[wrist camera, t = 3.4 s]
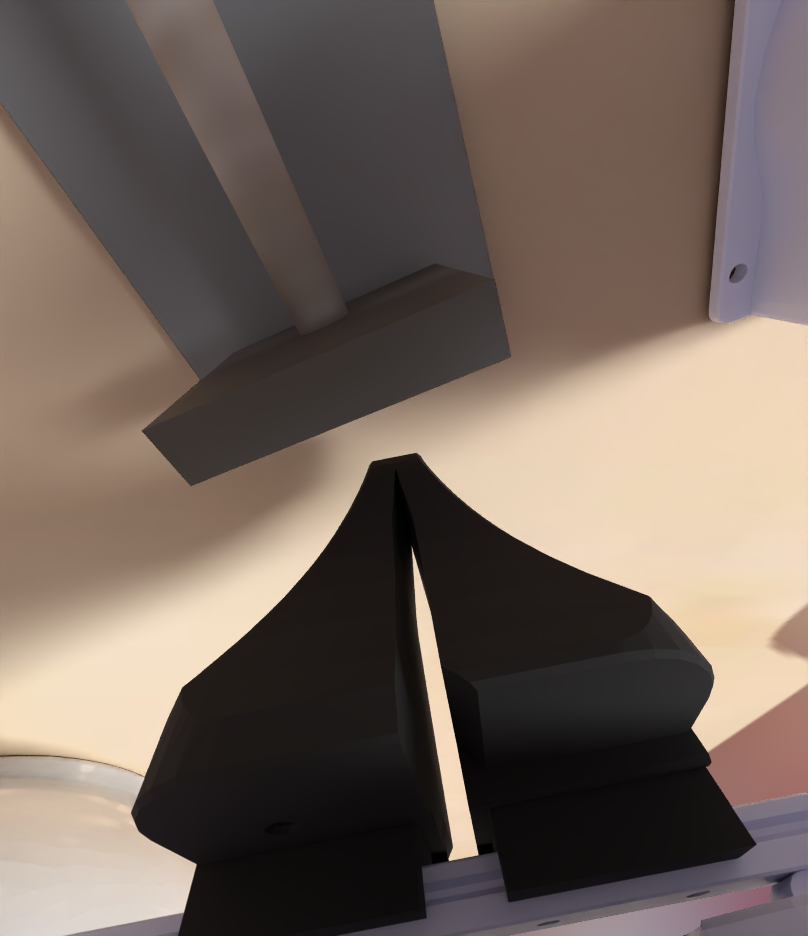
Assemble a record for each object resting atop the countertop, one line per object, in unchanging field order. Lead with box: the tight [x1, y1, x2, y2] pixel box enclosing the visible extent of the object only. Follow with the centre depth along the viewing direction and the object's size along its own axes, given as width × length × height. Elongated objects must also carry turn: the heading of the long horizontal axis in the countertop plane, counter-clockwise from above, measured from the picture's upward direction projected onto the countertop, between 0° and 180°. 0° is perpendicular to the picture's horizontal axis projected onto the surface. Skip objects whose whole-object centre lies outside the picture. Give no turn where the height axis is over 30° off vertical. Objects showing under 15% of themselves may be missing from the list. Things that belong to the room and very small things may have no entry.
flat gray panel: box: [0, 0, 493, 380], centre depth 9 cm, size 12×9×1 cm
